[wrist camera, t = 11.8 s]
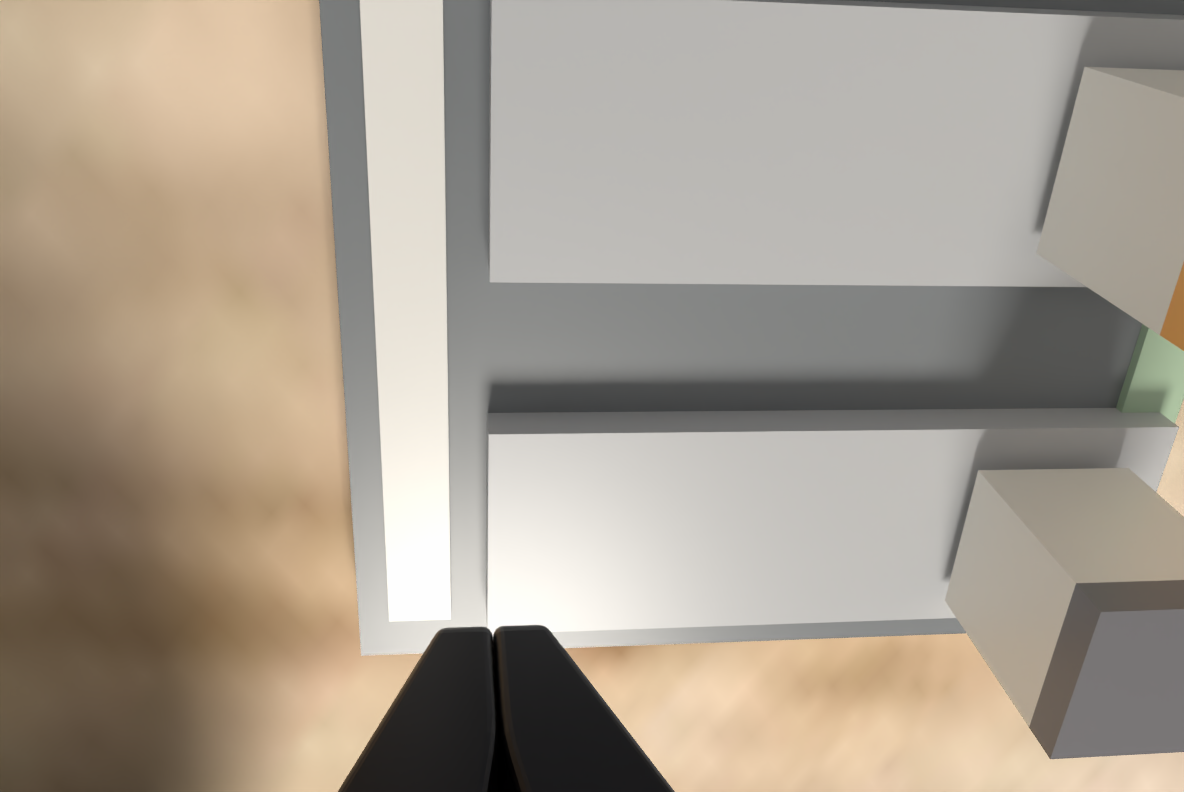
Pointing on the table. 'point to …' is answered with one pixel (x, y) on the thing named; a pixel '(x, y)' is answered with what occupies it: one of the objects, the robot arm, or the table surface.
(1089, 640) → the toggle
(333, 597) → the table surface
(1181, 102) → the toggle mid
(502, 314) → the panel
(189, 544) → the table surface
